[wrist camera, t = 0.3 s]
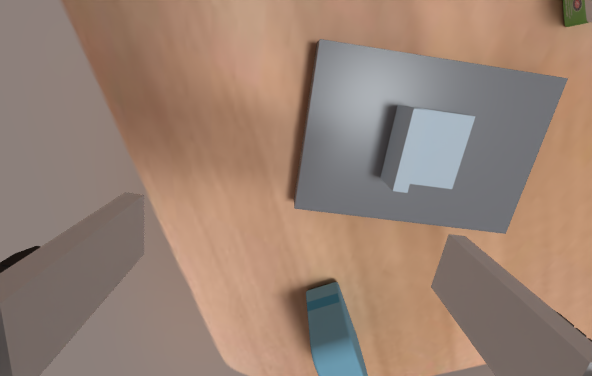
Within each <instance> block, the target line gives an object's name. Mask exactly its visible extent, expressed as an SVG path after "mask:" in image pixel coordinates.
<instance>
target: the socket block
mask: <svg viewBox="0 0 592 376" xmlns="http://www.w3.org/2000/svg"><path fill="white" fill-rule="evenodd" d="M567 79H568V78H562V77H556V76H549V75H543V74H537V73H530V72H524V71H518V70H511V69H505V68H499V67H493V66H486V65H480V64H474V63H467V62H461V61H455V60H448V59H442V58H436V57H429V56H423V55H417V54H411V53H404V52H398V51H392V50H385V49H379V48H373V47H366V46H360V45H354V44H347V43H341V42H335V41H329V40H322V39H320V40H319V41H318V42H317V46H316V53H315V60H314V67H313V74H312V80H311V87H310V94H309V101H308V108H307V114H306V121H305V128H304V135H303V142H302V148H301V155H300V162H299V169H298V176H297V182H296V189H295V196H294V208H295V209H302V210H311V211H319V212H328V213H336V214H345V215H353V216H361V217H370V218H378V219H387V220H395V221H404V222H412V223H420V224H429V225H437V226H446V227H454V228H462V229H471V230H479V231H488V232H496V233H505V234H506V231H507V229H508V226H509V224H510V221H511V219H512V216H513V214H514V211H515V209H516V206H517V204H518V201H519V199H520V196H521V194H522V191H523V189H524V186H525V184H526V182H527V179H528V177H529V174H530V172H531V169H532V167H533V164H534V162H535V159H536V157H537V154H538V152H539V149H540V147H541V144H542V142H543V139H544V137H545V134H546V132H547V129H548V127H549V124H550V122H551V119H552V117H553V114H554V112H555V109H556V107H557V104H558V102H559V99H560V97H561V94H562V92H563V89H564V87H565V84H566V82H567ZM398 105H401V106H408V107H415V108H422V109H428V110H435V111H442V112H449V113H456V114H463V115H470V116H475V120H474V123H473V126H472V129H471V132H470V135H469V138H468V141H467V145H466V148H465V151H464V154H463V157H462V160H461V163H460V166H459V169H458V172H457V176H456V179H455V182H454V185H453V188H452V189H446V188H438V187H431V186H423V185H415V184H410V185H409V189H408V193H404V192H396V191H392V190H391V189H390V188H389V187H388V186H387V185H386V184H385V183H384V181H383V180H382V179H381V178H380V177H381V173H382V169H383V165H384V161H385V156H386V152H387V148H388V144H389V140H390V135H391V131H392V127H393V123H394V119H395V114H396V110H397V106H398Z"/></svg>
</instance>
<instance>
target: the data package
mask: <svg viewBox="0 0 592 376" xmlns="http://www.w3.org/2000/svg"><path fill="white" fill-rule="evenodd" d="M306 299H307V311H308V322H309V334H310V346H311V353H312V358H313V362H314V365H315V368H316V370H317V373H318V375H319V376H368V374H367V370H366V367H365V363H364V359H363V356H362V352H361V348H360V345H359V342H358V338H357V335H356V332H355V330H354V327H353V324H352V321H351V318H350V315H349V313H348V310H347V307H346V304H345V301H344V299H343V296H342V293H341V290H340V287H339V285H338V283H337V282H334V283H331V284H327V285H324V286H321V287H317V288H314V289H311V290H308V291H307V292H306Z"/></svg>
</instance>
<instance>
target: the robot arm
mask: <svg viewBox="0 0 592 376" xmlns="http://www.w3.org/2000/svg"><path fill="white" fill-rule="evenodd" d="M143 255H144V195H140V194H132V193H124V194H122V195H120V196H119V197H117V198H116V199H114V200H113V201H111V202H110V203H108V204H106V205H105V206H103V207H102V208H100V209H99V210H97V211H96V212H94V213H93V214H91V215H90V216H88V217H86V218H85V219H83V220H82V221H80V222H79V223H77V224H76V225H74V226H72V227H71V228H69V229H68V230H66V231H65V232H63V233H62V234H60V235H59V236H57V237H56V238H54V239H53V240H51V241H49V242H48V243H46V244H45V245H43V246H42V247H40V246H34V247H32V248H29V249H26V250H24V251H21V252H18V253H16V254H14V255H12V256H10V257H9V258H7V259H6V260H4V261H2V262H0V376H40V375H41V374H42V372H43V371H44V370H45V369H46V368H47V366H48V365H49V364H50V363H51V362H52V361H53V359H54V358H55V357H56V356H57V355H58V354H59V353H60V351H61V350H62V349H63V348H64V347H65V346H66V344H67V343H68V342H69V341H70V340H71V339H72V337H73V336H74V335H75V334H76V333H77V331H78V330H79V329H80V328H81V327H82V326H83V325H84V323H85V322H86V321H87V320H88V319H89V318H90V316H91V315H92V314H93V313H94V312H95V310H96V309H97V308H98V307H99V306H100V305H101V304H102V302H103V301H104V300H105V299H106V298H107V297H108V295H109V294H110V293H111V292H112V291H113V290H114V288H115V287H116V286H117V285H118V284H119V283H120V281H121V280H122V279H123V278H124V277H125V276H126V274H127V273H128V272H129V271H130V270H131V269H132V267H133V266H134V265H135V264H136V263H137V262H138V260H139V259H140V258H141V257H142V256H143ZM431 287H432V289H433V290H434V292H435V293H436V294H437V296H438V297H439V298H440V300H441V301H442V303H443V304H444V305H445V307H446V308H447V310H448V311H449V312H450V314H451V315H452V316H453V318H454V319H455V321H456V322H457V323H458V325H459V326H460V328H461V329H462V330H463V332H464V333H465V334H466V336H467V337H468V339H469V340H470V341H471V343H472V344H473V346H474V347H475V348H476V350H477V351H478V352H479V354H480V355H481V357H482V358H483V359H484V361H485V362H486V363H487V365H488V366H489V368H490V369H491V370H492V372H493V373H494V374H495V376H592V340H591V339H589V338H586V335H585V334H584V333H582V332H581V331H580V330H579V329H577V328H574V325H573V324H571V323H570V322H569V321H568V320H567V319H565V318H564V317H563V316H562V315H561V314H559V313H558V312H556V311H555V310H553V309H552V308H551V307H549V306H548V305H547V304H546V303H545V302H543V301H542V300H541V299H540V298H539V297H537V296H536V295H535V294H534V293H533V292H531V291H530V290H529V289H528V288H527V287H525V286H524V285H523V284H522V283H521V282H519V281H518V280H517V279H516V278H515V277H513V276H512V275H511V274H510V273H509V272H507V271H506V270H505V269H504V268H503V267H501V266H500V265H499V264H498V263H497V262H495V261H494V260H493V259H492V258H491V257H489V256H488V255H487V254H486V253H485V252H483V251H482V250H481V249H480V248H479V247H477V246H476V245H475V244H474V243H473V242H471V241H470V240H469V239H468V238H467V237H465V236H459V235H451V234H449V235H448V238H447V241H446V244H445V247H444V250H443V253H442V256H441V259H440V262H439V265H438V268H437V271H436V274H435V277H434V279H433V282H432V285H431Z"/></svg>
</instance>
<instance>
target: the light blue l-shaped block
mask: <svg viewBox="0 0 592 376" xmlns="http://www.w3.org/2000/svg"><path fill="white" fill-rule="evenodd" d="M474 120H475V116H470V115H463V114H456V113H449V112H442V111H435V110H428V109H422V108H415V107H408V106H401V105H398V106H397V110H396V114H395V119H394V123H393V127H392V131H391V135H390V140H389V144H388V148H387V152H386V156H385V161H384V165H383V169H382V173H381V177H380V178H381V179H382V180H383V181H384V183H385V184H386V185H387V186H388V187H389V188H390V189H391V190H392V191H396V192H404V193H408V189H409V185H410V184H415V185H423V186H431V187H438V188H446V189H452V188H453V185H454V182H455V179H456V176H457V172H458V169H459V166H460V163H461V160H462V157H463V154H464V151H465V148H466V145H467V141H468V138H469V135H470V132H471V129H472V126H473V123H474Z"/></svg>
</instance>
